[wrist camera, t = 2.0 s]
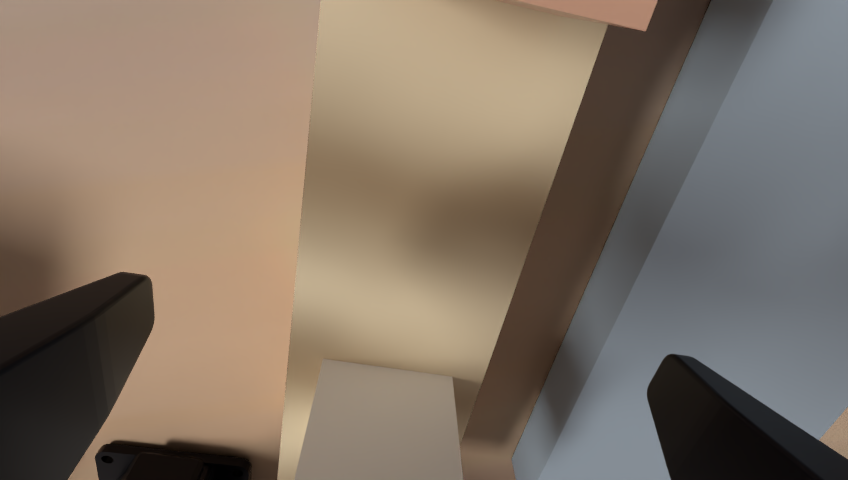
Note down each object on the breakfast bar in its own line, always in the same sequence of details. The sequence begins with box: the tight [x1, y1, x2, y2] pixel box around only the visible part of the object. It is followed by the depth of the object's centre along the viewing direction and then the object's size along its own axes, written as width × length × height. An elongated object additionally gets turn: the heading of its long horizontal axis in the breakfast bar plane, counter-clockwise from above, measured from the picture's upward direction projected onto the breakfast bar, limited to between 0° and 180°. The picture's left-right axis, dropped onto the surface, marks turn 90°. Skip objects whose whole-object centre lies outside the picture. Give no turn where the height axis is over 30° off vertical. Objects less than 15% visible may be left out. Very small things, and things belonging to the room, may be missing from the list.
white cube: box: [294, 359, 463, 480], centre depth 14 cm, size 4×4×4 cm
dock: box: [512, 0, 848, 480], centre depth 16 cm, size 26×10×2 cm, turn 168°
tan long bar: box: [277, 0, 608, 480], centre depth 14 cm, size 24×6×4 cm, turn 168°
